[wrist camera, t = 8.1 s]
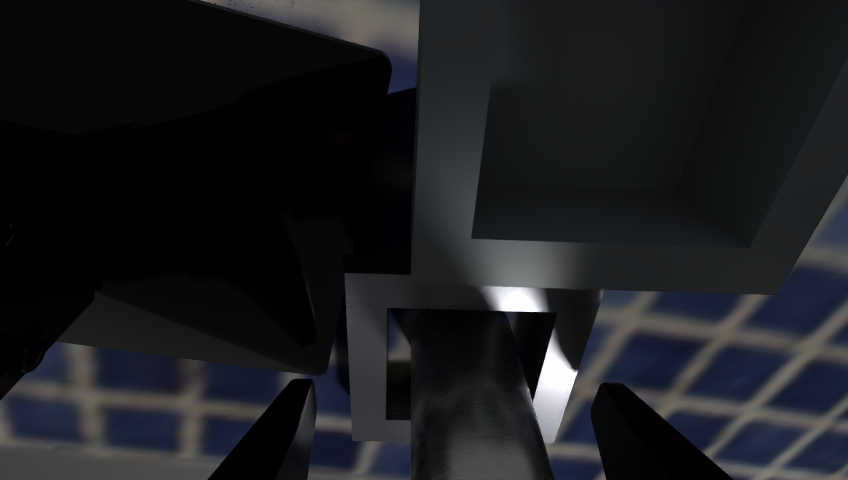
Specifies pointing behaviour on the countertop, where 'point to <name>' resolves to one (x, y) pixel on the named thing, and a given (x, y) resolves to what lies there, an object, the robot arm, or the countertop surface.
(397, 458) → the countertop surface
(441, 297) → the pin socket
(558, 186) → the tray
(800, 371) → the countertop surface
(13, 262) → the build plate
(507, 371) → the pin
